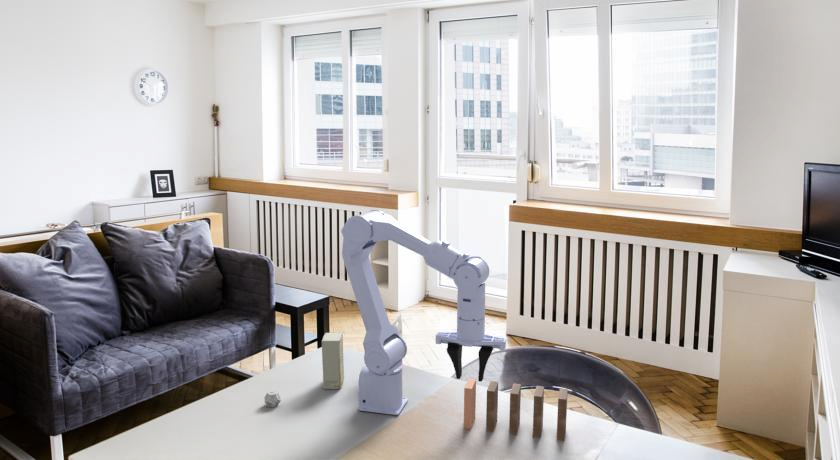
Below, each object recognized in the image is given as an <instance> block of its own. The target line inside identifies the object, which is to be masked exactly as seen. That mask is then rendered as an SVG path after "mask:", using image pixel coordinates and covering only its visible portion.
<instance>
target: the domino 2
mask: <svg viewBox="0 0 840 460" xmlns="http://www.w3.org/2000/svg"><path fill="white" fill-rule="evenodd" d="M521 393H522V384H521V383H514V382H513V383H512V387H511V389H510V393H509V395H510V396H509V423H508V425H509V426H508V427H509V428H508V430H509V431H508V434H509V435H514V436H518V432H519V428H520V424H521V398H522V397H521Z"/></svg>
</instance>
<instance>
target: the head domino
mask: <svg viewBox="0 0 840 460" xmlns="http://www.w3.org/2000/svg"><path fill="white" fill-rule="evenodd" d="M476 390H477V379H475V378H468V379H467V381H466V383H465V386H464V389H463V392H464V393H463V400H464V401H463V429H468V430H472V428H473V425H474V423H475V420H476V412H477V411H476V408H477V405H476V402H477V400H476V399H477V398H476V397H477V396H476V395H477V394H476V393H477V391H476Z"/></svg>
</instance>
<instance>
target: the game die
mask: <svg viewBox="0 0 840 460" xmlns="http://www.w3.org/2000/svg"><path fill="white" fill-rule="evenodd" d="M263 399H264V403H265V405H266V406H267V407H269V408H275V407H277V406H279V404H280V402H282V399H281V394H279V392H278V391H275V390H270V391H268V392H267V393H266V394H265V396H264V398H263Z"/></svg>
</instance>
